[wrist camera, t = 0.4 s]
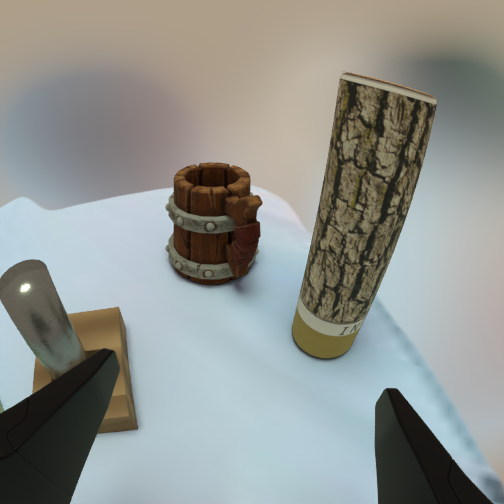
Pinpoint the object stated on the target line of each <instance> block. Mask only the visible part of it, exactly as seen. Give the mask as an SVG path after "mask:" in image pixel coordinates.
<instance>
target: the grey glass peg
mask: <svg viewBox="0 0 504 504" xmlns="http://www.w3.org/2000/svg"><path fill="white" fill-rule="evenodd" d="M0 300H1V302H2V304H3V305H4V307H5V309H6V311H7V312H8V314H9V316H10V317H11V319H12V321H13V322H14V324H15V326H16V327H17V329H18V330H19V332H20V334H21V335H22V337H23V338H24V340H25V341H26V343H27V344H28V346H29V347H30V349H31V350H32V351H33V353H34V354H35V356H36V357H37V359H38V360H39V361H40V363H41V364H42V365H43V367H44V368H45V369H46V371H47V372H48V373H49V375H50V376H51V377H52V379H53V380H55V379H56V378H58V377H59V376H61V375H62V374H64V373H65V372H67V371H68V370H70V369H71V368H73V367H75V366H76V365H78V364H79V363H81V362H82V361H84V360H85V359H87V358H88V357H89V355H88V354H87V352H86V350H85V348H84V346H83V344H82V343H81V341H80V339H79V337H78V335H77V333H76V331H75V329H74V327H73V325H72V323H71V321H70V319H69V317H68V315H67V313H66V311H65V309H64V306H63V304H62V302H61V300H60V298H59V295H58V293H57V291H56V288H55V286H54V284H53V281H52V279H51V276H50V274H49V271H48V269H47V266H46V265H45V264H44V263H43V262H42V261H40V260H25V261H22V262H20V263H17V264H15V265H14V266H12V267H11V268H9V269H8V270H7V271H6V272H5V273H4V274H3V275H2V277H1V278H0Z"/></svg>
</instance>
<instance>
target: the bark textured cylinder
mask: <svg viewBox="0 0 504 504" xmlns="http://www.w3.org/2000/svg"><path fill="white" fill-rule="evenodd" d="M436 105H437V104H436V99H435V98H434V97H433V95H430V94H427V93H424V92H421V91H418V90H415V89H412V88H408V87H405V86H402V85H398V84H395V83H391V82H387V81H384V80H380V79H375V78H371V77H367V76H363V75H358V74H353V73H348V72H346V73H343V74H342V75H341V77H340V81H339V88H338V96H337V103H336V109H335V116H334V122H333V129H332V135H331V141H330V147H329V153H328V159H327V164H326V171H325V176H324V181H323V187H322V192H321V197H320V203H319V207H318V212H317V217H316V222H315V227H314V232H313V237H312V241H311V246H310V251H309V255H308V260H307V264H306V269H305V273H304V278H303V282H302V286H301V291H300V295H299V299H298V304H297V308H296V312H295V316H294V320H293V325H292V334H293V337H294V339H295V341H296V343H297V344H298V345H299V347H300V348H301V349H303V350H304V351H305V352H307V353H308V354H310V355H312V356H315V357H319V358H333V357H337V356H340V355H342V354H344V353H345V352H347V351H348V350H349V348H350V347H351V346H352V344H353V342H354V340H355V338H356V336H357V334H358V332H359V330H360V328H361V326H362V324H363V322H364V320H365V318H366V315H367V313H368V311H369V309H370V307H371V305H372V302H373V300H374V298H375V296H376V293H377V291H378V289H379V286H380V284H381V282H382V279H383V277H384V274H385V272H386V269H387V267H388V264H389V262H390V260H391V257H392V254H393V252H394V249H395V247H396V244H397V241H398V239H399V236H400V233H401V230H402V227H403V225H404V222H405V219H406V216H407V213H408V210H409V207H410V204H411V201H412V198H413V194H414V191H415V188H416V184H417V181H418V178H419V175H420V171H421V167H422V164H423V160H424V157H425V153H426V149H427V145H428V141H429V137H430V132H431V128H432V124H433V120H434V115H435V110H436Z"/></svg>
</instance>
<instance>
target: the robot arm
mask: <svg viewBox="0 0 504 504" xmlns="http://www.w3.org/2000/svg"><path fill="white" fill-rule="evenodd" d="M119 372H120V365H119V361H118V358H117V355H116V352H115V351H114V350H112V349H108V348H102V349H101V350H99V351H98V352H96V353H95V354H93V355H91V356H90V357H88V358H87V359H85V360H84V361H82V362H81V363H79V364H78V365H76V366H75V367H73V368H71V369H70V370H68V371H67V372H65V373H64V374H62V375H61V376H59V377H58V378H56V379H55V380H53V381H52V382H50V383H48V384H47V385H45V386H44V387H42V388H41V389H39V390H38V391H36V392H35V393H33V394H32V395H30V396H29V397H27V398H25V399H24V400H22V401H21V402H19V403H17V404H16V405H14V406H13V407H11V408H9V409H7V410H5V411H4V412H2V413H0V504H70V502H71V499H72V496H73V493H74V491H75V488H76V485H77V483H78V480H79V477H80V475H81V472H82V470H83V467H84V465H85V462H86V460H87V457H88V455H89V452H90V450H91V447H92V445H93V442H94V440H95V438H96V435H97V433H98V430H99V428H100V426H101V423H102V421H103V419H104V416H105V414H106V412H107V409H108V407H109V404H110V401H111V397H112V394H113V391H114V388H115V384H116V381H117V378H118V375H119ZM375 457H376V471H377V488H378V504H493V503H492V502H491V501H490V500H489V499H488V498H487V497H486V496H485V495H484V494H483V493H482V492H481V491H480V490H479V489H478V487H477V486H476V485H475V484H474V483H473V482H472V481H471V480H470V479H469V478H468V477H467V476H466V475H465V473H464V472H463V471H462V470H461V468H460V467H459V466H458V465H457V463H456V462H455V461H454V459H452V457H451V456H450V454H449V453H448V452H447V450H446V449H445V448H444V447H443V445H442V444H441V443H440V442H439V440H438V439H437V438H436V436H435V435H434V434H433V433H432V431H431V430H430V429H429V428H428V426H427V425H426V424H425V422H424V421H423V420H422V419H421V417H420V416H419V415H418V414H417V412H416V411H415V410H414V409H413V407H412V406H411V405H410V404H409V402H408V401H407V400H406V399H405V398H404V396H403V395H402V394H401V393H400V391H399V390H398V389H396V388H386V389H385V390H384V391H383V393H382V394H381V396H380V397H379V399H378V401H377V402H376V406H375Z"/></svg>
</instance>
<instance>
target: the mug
mask: <svg viewBox="0 0 504 504" xmlns="http://www.w3.org/2000/svg"><path fill="white" fill-rule="evenodd" d="M261 205H262V201H261V199H260V197H259V196H258V195H255V196H253V194H252V193H251V192H250V176H249V174H248V172H246V171H245V170H243V169H242V168H240V167H237V166H234V165H233V166H231V167H230V166H229V164H223V163H201V164H199V167H198V166H196V165H191V166H187V167H185V168H183V169H181V170H180V171H178V172H177V174H176V175H175V177H174V192H173V194H172V195H171V196H170V197H169V203H168V204H167V205H166V210H167V211H169V217H170V218H171V220H172V221H173V222H174V232H173V234H172V235H171V237H170V239H169V245H167V246H166V251H167V252H169V259H170V261H171V262H172V264H173V266H174V267H175V269H176V270H177V272H178V273H179V274H181V275H182V276H184V277H185V278H187V279H188V278H189V277H190V278H191V281H194V282H197V283H201V284H221V283H226V282H229V280H230V278H231V279H232V280H235V279H237V278H239V277H240V276H243V275H246V274H247V273H248V269H249V268H250V266H251V264H252V263H253V262H254V260H255V255H257V254H258V252H259V251H258V249H257V247H258V246H257V245H258V242H259V237H260V222H259V221H257V220H256V215H257V210H258V208H259V207H260V206H261Z"/></svg>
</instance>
